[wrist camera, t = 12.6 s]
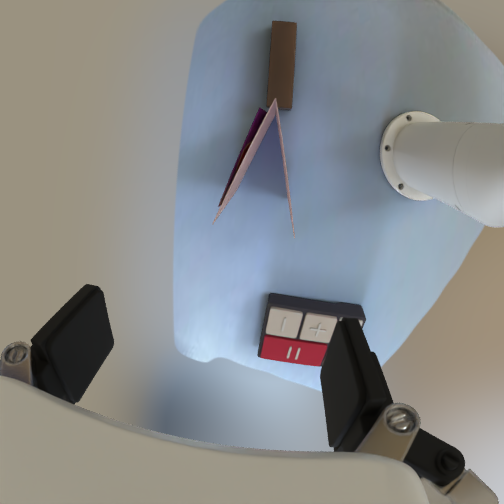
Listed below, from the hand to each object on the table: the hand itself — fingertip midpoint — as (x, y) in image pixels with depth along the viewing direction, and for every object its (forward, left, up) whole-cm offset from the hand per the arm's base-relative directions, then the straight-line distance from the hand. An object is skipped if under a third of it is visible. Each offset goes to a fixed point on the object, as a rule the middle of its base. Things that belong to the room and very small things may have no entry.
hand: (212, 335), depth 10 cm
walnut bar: (-2, -17, -29) cm, 34 cm away
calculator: (-10, +21, -29) cm, 37 cm away
